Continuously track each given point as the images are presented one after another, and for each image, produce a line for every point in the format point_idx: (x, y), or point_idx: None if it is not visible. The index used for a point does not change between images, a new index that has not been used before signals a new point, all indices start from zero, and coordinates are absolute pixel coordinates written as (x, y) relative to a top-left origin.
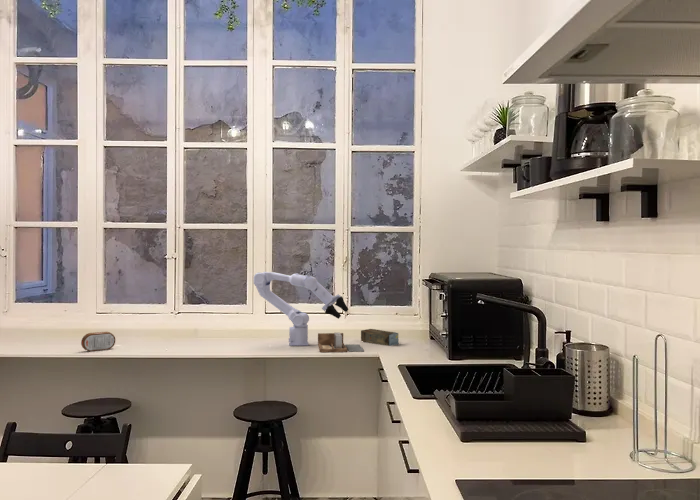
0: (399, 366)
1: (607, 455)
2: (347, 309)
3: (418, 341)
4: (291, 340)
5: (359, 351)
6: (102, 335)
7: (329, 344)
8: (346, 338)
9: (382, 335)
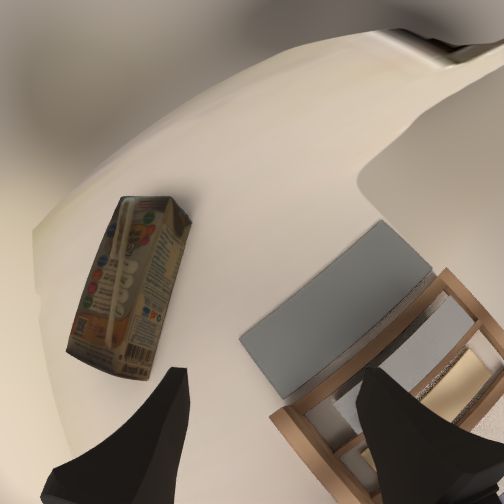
0: (464, 59)
1: None
2: (186, 374)
3: (84, 205)
4: None
5: (396, 235)
6: None
7: (341, 462)
8: None
9: (163, 236)
